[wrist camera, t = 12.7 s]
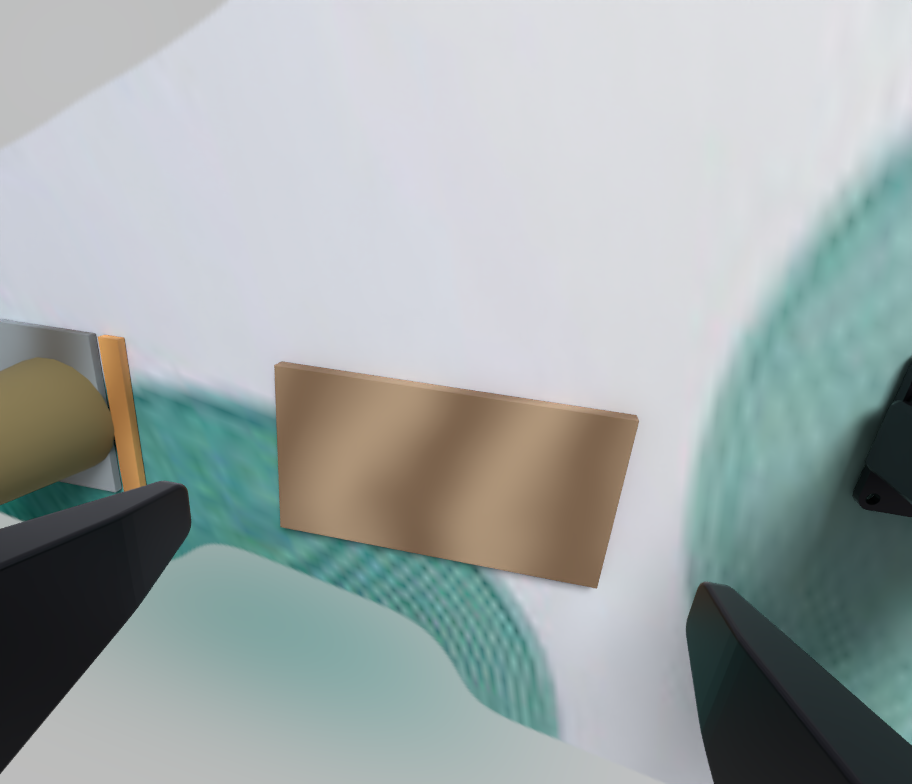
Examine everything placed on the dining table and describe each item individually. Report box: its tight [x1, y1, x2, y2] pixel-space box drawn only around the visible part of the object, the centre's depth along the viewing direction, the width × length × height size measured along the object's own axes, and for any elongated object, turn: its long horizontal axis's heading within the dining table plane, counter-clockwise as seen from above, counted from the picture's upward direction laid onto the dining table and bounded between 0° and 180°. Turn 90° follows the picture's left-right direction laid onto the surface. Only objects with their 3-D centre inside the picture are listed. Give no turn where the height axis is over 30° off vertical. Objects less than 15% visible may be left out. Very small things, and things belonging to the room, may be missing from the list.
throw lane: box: [0, 319, 639, 588], centre depth 24 cm, size 31×8×1 cm, turn 84°
